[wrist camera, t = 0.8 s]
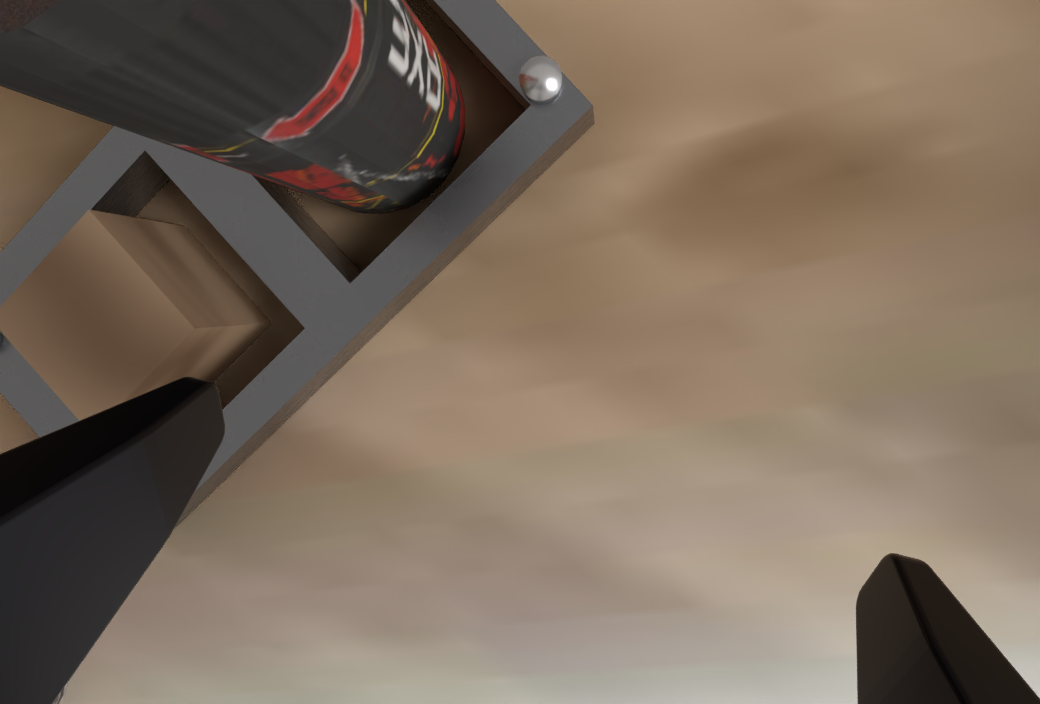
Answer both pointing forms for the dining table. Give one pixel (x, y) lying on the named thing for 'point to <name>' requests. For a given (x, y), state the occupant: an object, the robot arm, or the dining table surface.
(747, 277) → the dining table surface
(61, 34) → the deodorant
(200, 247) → the walnut block
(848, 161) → the dining table surface
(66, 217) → the grey tray
